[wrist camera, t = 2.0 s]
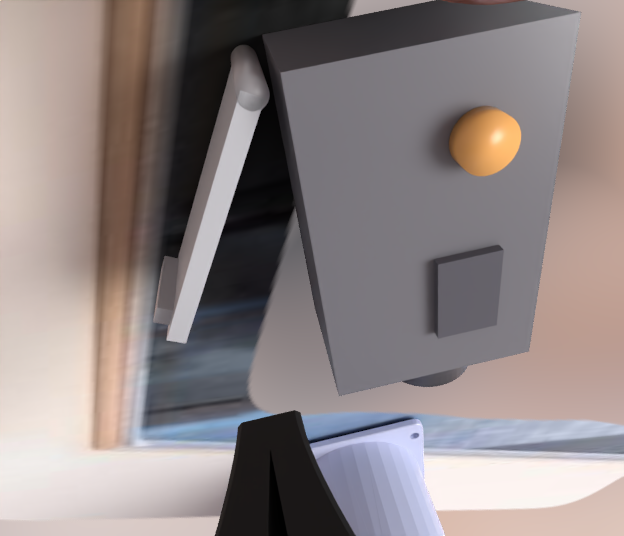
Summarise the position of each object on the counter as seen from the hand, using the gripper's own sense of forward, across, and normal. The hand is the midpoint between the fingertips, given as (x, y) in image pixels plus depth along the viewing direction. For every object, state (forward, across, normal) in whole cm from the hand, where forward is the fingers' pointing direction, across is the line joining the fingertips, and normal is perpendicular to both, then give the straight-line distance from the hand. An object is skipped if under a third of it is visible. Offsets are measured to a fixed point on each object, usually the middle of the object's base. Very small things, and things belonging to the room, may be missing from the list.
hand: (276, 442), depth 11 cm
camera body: (+9, -5, -2) cm, 11 cm away
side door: (+9, +1, -3) cm, 9 cm away
